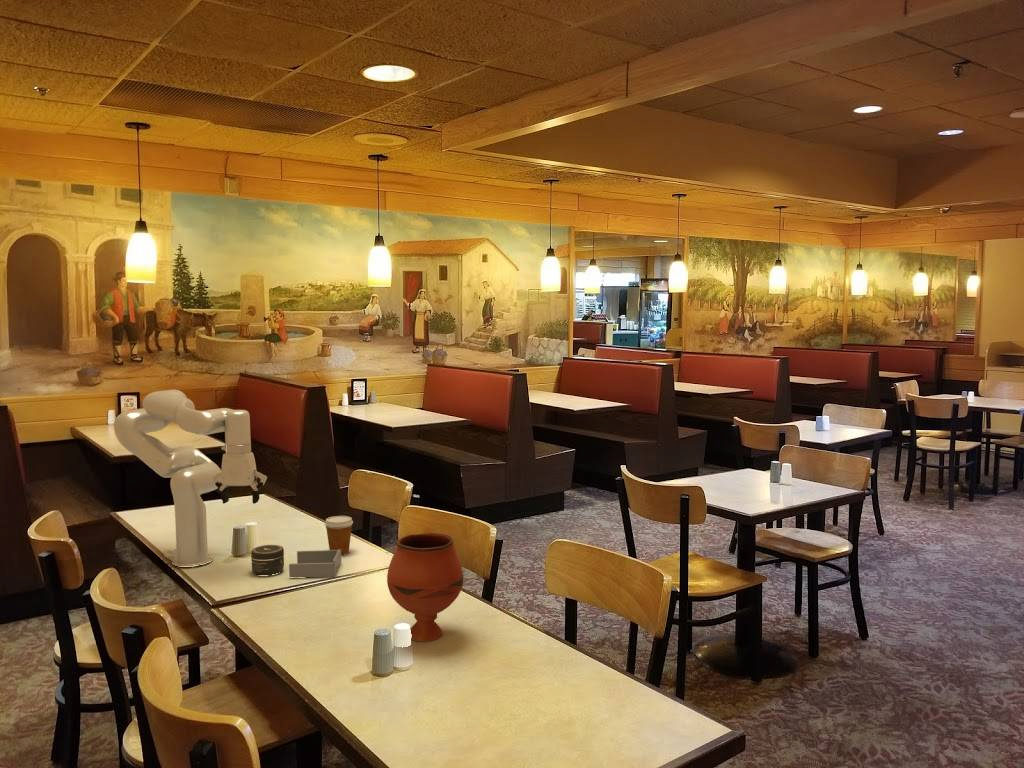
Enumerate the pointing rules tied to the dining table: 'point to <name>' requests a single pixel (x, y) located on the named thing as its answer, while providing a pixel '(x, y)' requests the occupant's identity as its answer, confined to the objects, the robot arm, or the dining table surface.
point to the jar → (267, 559)
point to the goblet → (425, 580)
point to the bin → (316, 563)
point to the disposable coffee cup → (339, 533)
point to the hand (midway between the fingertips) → (240, 502)
